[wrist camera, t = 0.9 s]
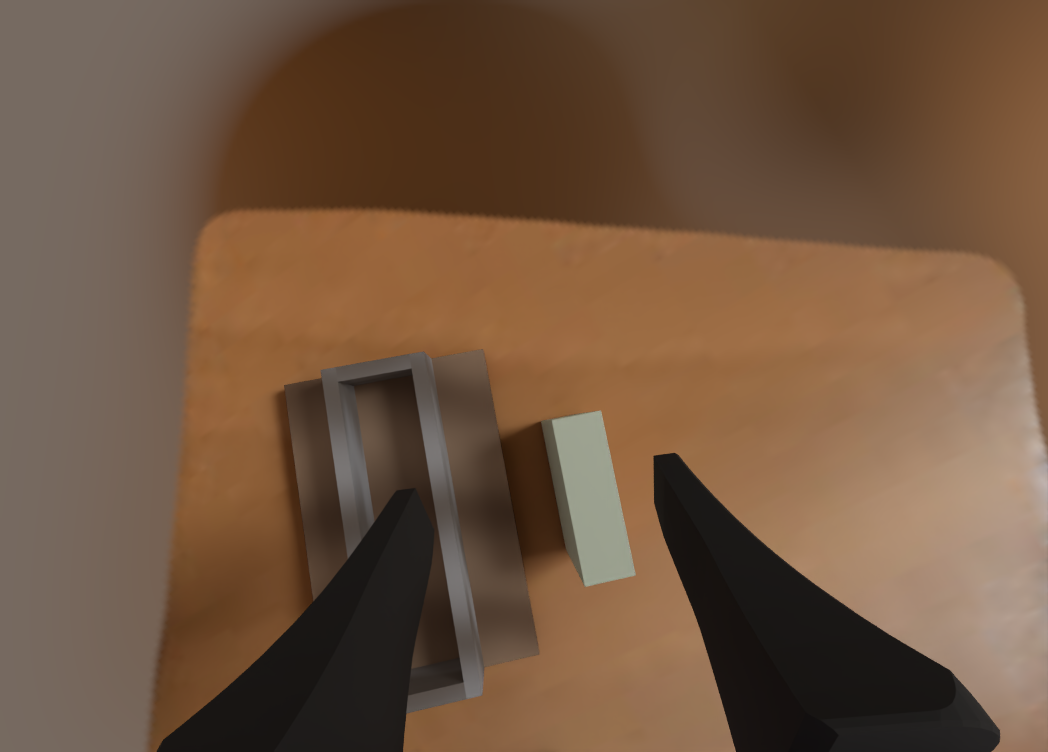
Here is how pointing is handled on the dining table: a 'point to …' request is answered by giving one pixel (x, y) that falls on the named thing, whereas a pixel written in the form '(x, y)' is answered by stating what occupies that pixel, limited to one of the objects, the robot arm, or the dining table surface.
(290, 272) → the dining table surface
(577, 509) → the panel
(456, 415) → the grey metal tray
